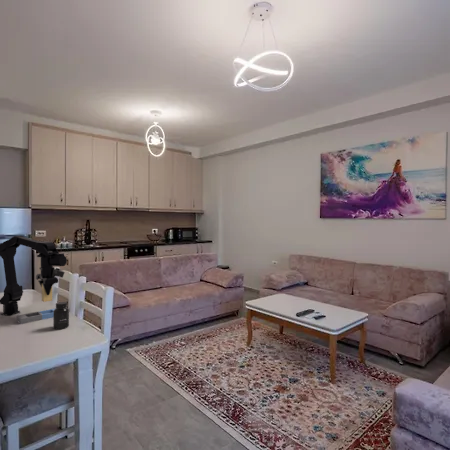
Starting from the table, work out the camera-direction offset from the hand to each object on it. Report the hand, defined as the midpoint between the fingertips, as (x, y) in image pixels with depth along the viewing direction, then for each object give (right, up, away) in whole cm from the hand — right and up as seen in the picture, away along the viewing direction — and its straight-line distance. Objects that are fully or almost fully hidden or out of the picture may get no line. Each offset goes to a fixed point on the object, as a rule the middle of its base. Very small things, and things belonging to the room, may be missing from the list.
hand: (46, 294), depth 168 cm
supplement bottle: (+16, -13, -16) cm, 26 cm away
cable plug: (0, -3, 0) cm, 3 cm away
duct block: (-2, -12, -2) cm, 13 cm away
